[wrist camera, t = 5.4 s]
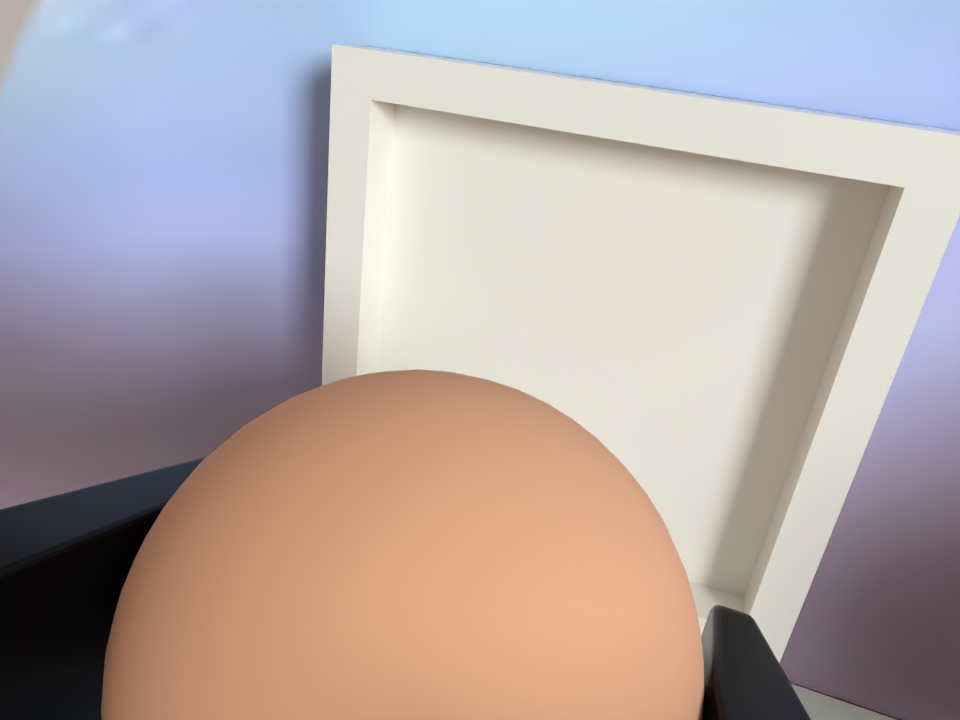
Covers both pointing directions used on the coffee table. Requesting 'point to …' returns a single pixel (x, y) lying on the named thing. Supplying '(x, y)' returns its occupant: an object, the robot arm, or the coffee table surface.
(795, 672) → the coffee table surface
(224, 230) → the coffee table surface
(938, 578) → the coffee table surface
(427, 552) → the ball
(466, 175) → the dish
